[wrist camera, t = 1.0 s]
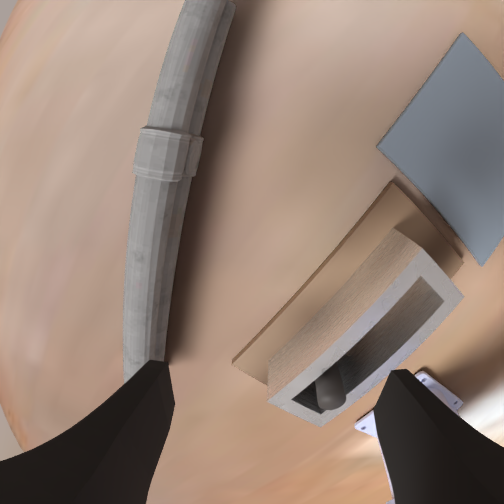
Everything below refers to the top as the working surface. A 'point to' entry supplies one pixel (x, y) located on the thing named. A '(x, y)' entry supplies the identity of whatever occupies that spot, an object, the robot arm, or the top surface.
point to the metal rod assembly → (168, 175)
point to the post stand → (334, 277)
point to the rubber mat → (457, 146)
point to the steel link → (364, 328)
